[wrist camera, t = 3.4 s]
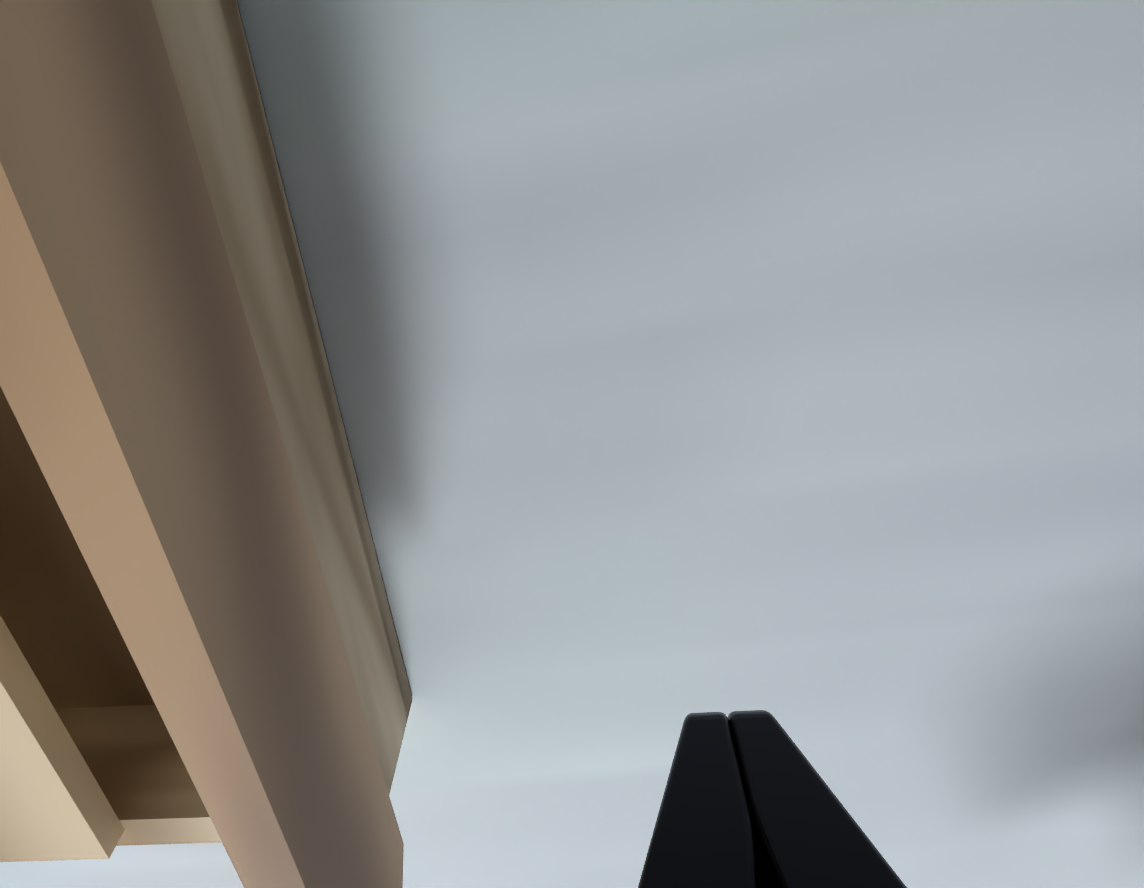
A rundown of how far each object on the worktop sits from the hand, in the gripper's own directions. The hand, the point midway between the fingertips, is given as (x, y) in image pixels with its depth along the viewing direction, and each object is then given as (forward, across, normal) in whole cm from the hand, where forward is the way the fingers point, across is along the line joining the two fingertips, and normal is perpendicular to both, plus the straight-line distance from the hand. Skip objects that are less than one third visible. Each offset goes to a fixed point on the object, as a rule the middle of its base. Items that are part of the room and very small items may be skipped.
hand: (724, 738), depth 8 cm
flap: (+1, +6, 0) cm, 6 cm away
